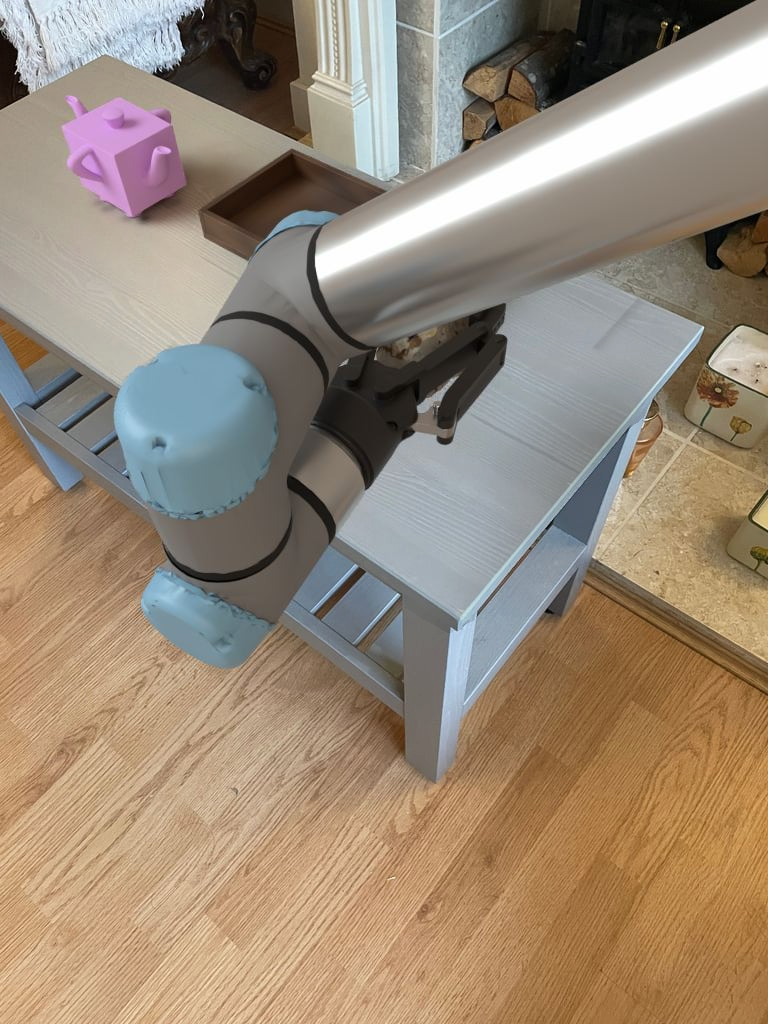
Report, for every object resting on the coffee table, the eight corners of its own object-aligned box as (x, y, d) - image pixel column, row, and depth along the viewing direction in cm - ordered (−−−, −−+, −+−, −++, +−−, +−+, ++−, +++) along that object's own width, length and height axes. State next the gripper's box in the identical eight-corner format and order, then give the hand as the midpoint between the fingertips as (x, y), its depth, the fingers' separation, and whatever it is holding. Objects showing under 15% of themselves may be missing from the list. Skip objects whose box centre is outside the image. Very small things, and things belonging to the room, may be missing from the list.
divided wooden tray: (499, 271, 94) (503, 243, 91) (413, 349, 87) (413, 322, 84) (295, 175, 106) (291, 148, 103) (204, 237, 99) (197, 210, 96)
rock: (435, 424, 63) (446, 300, 57) (365, 400, 66) (369, 280, 60) (503, 371, 71) (519, 259, 66) (439, 352, 74) (449, 243, 68)
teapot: (203, 164, 108) (184, 82, 99) (188, 225, 100) (167, 142, 91) (90, 166, 108) (62, 84, 99) (67, 227, 101) (34, 144, 92)
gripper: (217, 444, 61) (367, 270, 72) (446, 546, 55) (570, 339, 67) (196, 373, 55) (364, 195, 66) (451, 479, 49) (587, 264, 60)
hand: (467, 268), depth 66 cm, fingers closed on rock, 6 cm apart
